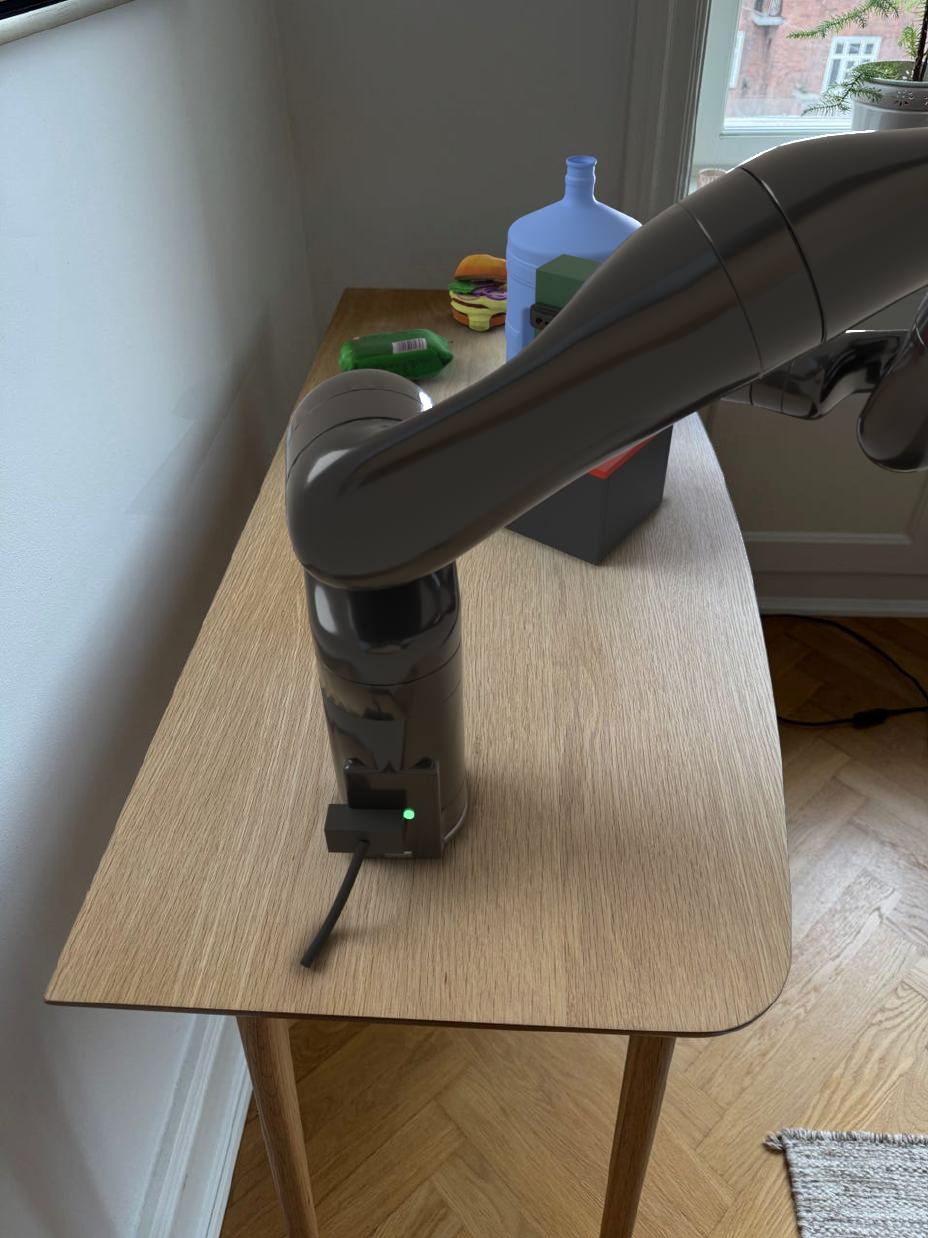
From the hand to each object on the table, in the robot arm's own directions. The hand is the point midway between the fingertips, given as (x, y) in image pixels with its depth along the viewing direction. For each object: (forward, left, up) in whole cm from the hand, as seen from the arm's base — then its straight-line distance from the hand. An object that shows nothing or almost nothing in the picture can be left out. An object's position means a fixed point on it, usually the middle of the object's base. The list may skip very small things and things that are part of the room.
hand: (548, 304), depth 85 cm
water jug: (+22, -4, -21) cm, 31 cm away
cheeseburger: (+48, +7, -21) cm, 53 cm away
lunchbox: (-1, -2, -21) cm, 21 cm away
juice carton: (-2, -2, -6) cm, 7 cm away
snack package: (+29, +18, -21) cm, 40 cm away
